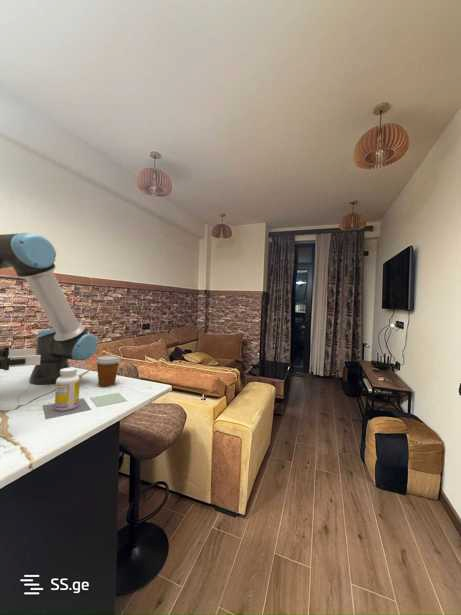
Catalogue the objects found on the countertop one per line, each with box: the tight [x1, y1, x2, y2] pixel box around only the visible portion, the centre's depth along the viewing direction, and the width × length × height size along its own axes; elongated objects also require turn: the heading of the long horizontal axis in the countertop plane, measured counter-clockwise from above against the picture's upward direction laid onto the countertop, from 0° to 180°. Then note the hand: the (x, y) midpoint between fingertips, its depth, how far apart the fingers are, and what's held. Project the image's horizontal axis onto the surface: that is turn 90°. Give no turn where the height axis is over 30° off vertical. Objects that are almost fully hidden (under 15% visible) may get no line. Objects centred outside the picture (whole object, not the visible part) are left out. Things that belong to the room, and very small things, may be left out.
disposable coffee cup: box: [95, 355, 121, 388], centre depth 105 cm, size 10×10×12 cm
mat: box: [90, 392, 128, 408], centre depth 89 cm, size 10×10×1 cm
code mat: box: [42, 397, 92, 420], centre depth 80 cm, size 12×12×1 cm
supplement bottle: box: [54, 367, 81, 411], centre depth 80 cm, size 7×7×13 cm
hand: (37, 355), depth 75 cm, fingers open, 13 cm apart
